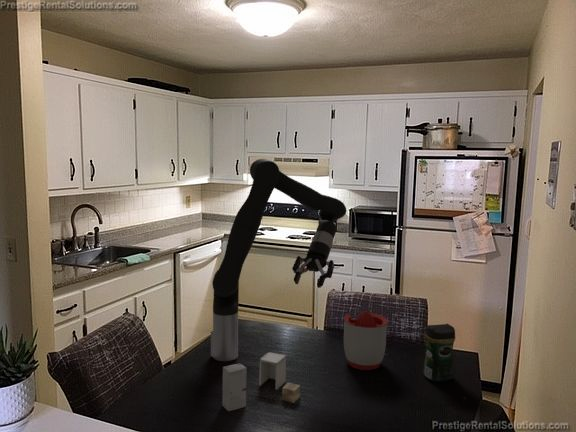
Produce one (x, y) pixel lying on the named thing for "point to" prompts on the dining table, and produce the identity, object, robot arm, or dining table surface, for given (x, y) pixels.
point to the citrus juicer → (365, 340)
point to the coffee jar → (439, 352)
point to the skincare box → (234, 387)
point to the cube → (291, 392)
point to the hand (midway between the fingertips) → (307, 284)
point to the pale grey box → (273, 368)
